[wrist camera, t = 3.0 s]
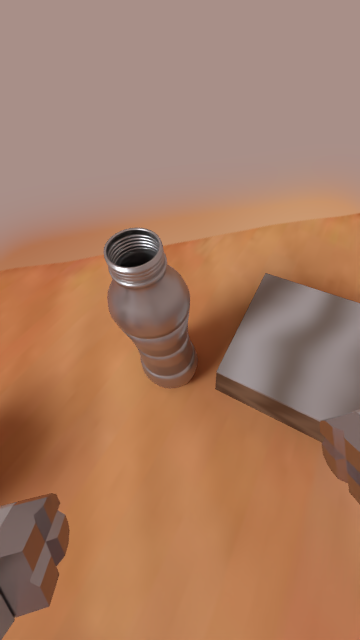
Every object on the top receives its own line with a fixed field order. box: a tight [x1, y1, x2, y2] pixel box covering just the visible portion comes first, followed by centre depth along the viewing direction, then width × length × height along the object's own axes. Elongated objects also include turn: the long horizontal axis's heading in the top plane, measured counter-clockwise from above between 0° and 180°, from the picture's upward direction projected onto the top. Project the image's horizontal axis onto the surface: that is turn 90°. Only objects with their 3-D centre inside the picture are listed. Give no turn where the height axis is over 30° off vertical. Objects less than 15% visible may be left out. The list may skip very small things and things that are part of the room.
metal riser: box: [215, 273, 360, 443], centre depth 29 cm, size 14×14×6 cm
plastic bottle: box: [104, 228, 198, 388], centre depth 24 cm, size 6×7×20 cm
